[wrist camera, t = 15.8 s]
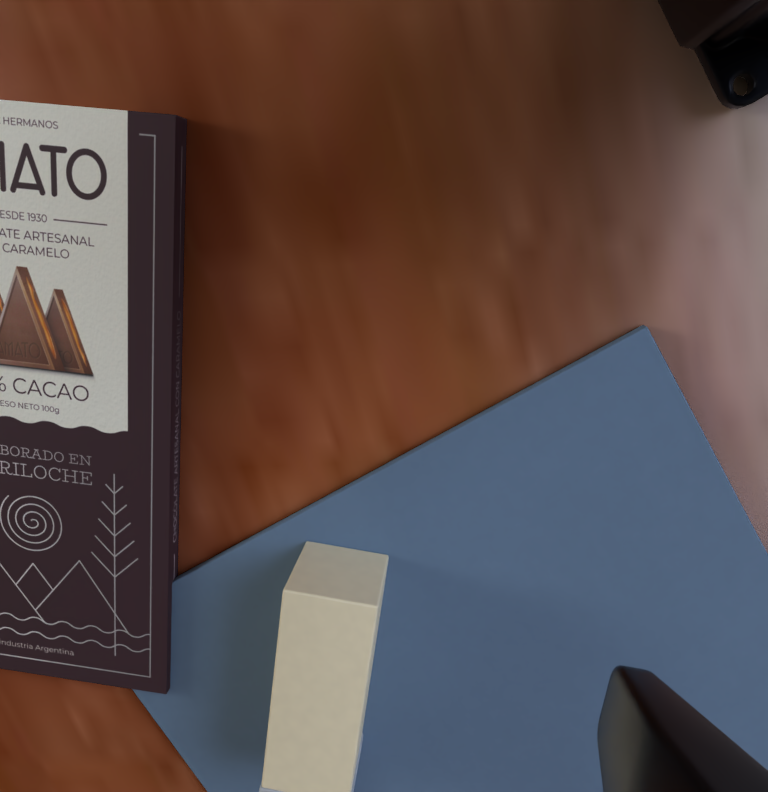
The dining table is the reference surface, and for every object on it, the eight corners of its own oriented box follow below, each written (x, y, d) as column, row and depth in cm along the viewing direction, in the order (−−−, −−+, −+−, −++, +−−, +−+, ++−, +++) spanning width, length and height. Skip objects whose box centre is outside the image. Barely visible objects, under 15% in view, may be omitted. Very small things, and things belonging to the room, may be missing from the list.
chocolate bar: (-88, 654, 23) (-140, 87, 19) (-68, 638, 24) (-113, 93, 20) (166, 694, 23) (175, 114, 18) (177, 676, 24) (189, 120, 19)
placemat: (643, 324, 19) (647, 326, 18) (870, 751, 21) (877, 761, 21) (92, 621, 23) (86, 628, 23) (333, 950, 25) (332, 962, 25)
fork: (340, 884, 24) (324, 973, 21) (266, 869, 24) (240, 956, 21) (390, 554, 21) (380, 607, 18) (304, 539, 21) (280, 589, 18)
